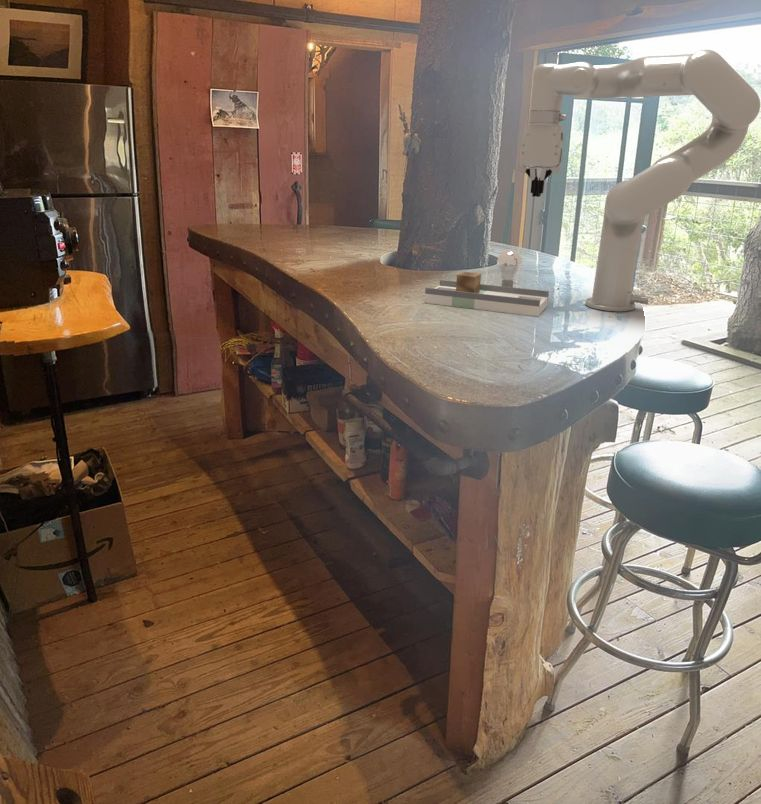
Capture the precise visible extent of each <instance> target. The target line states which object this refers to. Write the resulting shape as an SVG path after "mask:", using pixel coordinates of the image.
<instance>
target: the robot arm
mask: <svg viewBox="0 0 761 804" xmlns="http://www.w3.org/2000/svg"><path fill="white" fill-rule="evenodd" d="M564 95H565V96H571V97H573V98H575V99H581V100H585V99H588V100H589V99H609V98H610V99H611V98H651V97H668V96H669V97H673V96H676V97H677V96H695V98H696V99H697V100H698V101H699V102H700V103H701V105H702V106H704V108H705V109H707V111H709V112H710V113H711V117H712V119H711V122H710V125H709V127H707V129H706V130H705V131H704V132H703V133H702V134H700V135H698V136H697V137H695V138H694V139H692V140H691V141H689V142H688V143H686V144H685V145H682V147H679V148H678V149H676V150H675V151H673V152H671V153H669V154H668V155H665V156H663V157H661V158H659V159H657V160H656V161H655V162H654V163H653V164H652V165H650V166H649V167H647V168H645V169H644V170H642V171H641V172H639V173H637V174H635V175H634V176H632V177H630V178H629V179H627V180H623V181H620V182H618V183H616V184H615V185H614V186H612V187H611V189H610V190H609V191H608V193H607V195H606V198H605V203H604V210H603V211H604V213H603V214H604V215H603V221H602V227H601V233H600V241H599V249H598V255H597V260H596V269H595V273H594V274H595V276H594V282H593V289H592V296H590V297H588V298H586V299H585V302H584V304H585V305H586V307H589V308H591V309H595V310H599V311H606V312H607V311H608V312H629V311H630V312H631V311H633V310H634V309H636V304H643V305H648V303H649V299H650V298H649V296H645V295H642V294H635V293H634V289H633V282H634V277H635V271H636V265H637V260H638V259H637V258H638V253H639V248H640V241H641V236H642V235H641V234H642V229H643V222H644V218H645V217H647V216H648V215H651V214H653V213H655V212H656V211H657V210H660V209H661V208H662V207H665V206H666V205H668V204H670V203H672V202H673V201H675V200H677V199H678V198H680V197H681V196H682V195H683V194H684V193H686V192H687V191H688V190H689V188H690V186H691V185H692V183H694V182H695V181H697V180H698V179H700V178H702V177H703V176H705V175H707V174H708V173H710V172H711V171H713V170H715V169H716V168H717V167H720V166H722V164H724V163H726V162H727V161H728V160H729V159H730V158H731V157H733V156H734V154H735V153H736V152H737V151H738V150H739V148H740V147H741V146H742V144H743V142H744V141H745V139H746V136H747V134H748V131H749V126H750V124H752V123H753V122H754V121H755V120H756V119H757V117H758V115H759V113H760V110H761V99H760V96H759V94H758V93H757V92H756V90H755V89H754V88H753V87H752V86H751V85H750V84H749V83H748V82H747V81H746V80H745V79H744V78H743V77H742V76H741V75H740V74H739V73H738V71H736V70H735V69H734V67H732V65H730V63H728V61H726V59H725V58H724V57H723V56H722V55H721V54H720V53H718V52H717V51H714V50H712V49H704V50H702V49H701V50H699V51H697V52H695V53H689V54H688V53H685V54H675V55H674V54H672V55H671V54H670V55H651V56H648V55H647V56H643V57H639V58H636V59H633V60H630V61H626V62H622V63H615V64H614V63H613V64H600V65H593V64H591V63H589V62H587V61H576V62H571V63H563V64H560V63H554V62H553V63H550V62H549V63H541V64H538V65H535V68H534V70H533V76H532V87H531V96H530V97H531V98H530V107H529V108H530V110H529V118H528V125H527V124H526V125H525V128H524V132H523V135H522V141H521V146H520V152H519V162H518V163H519V164H518V165H519V166H518V168H517V170H518V172H520V173H525V174H527V175H526V176H528V177H529V179H530V180H531V184H530V194H532V195H531V197H537V198H541V196H542V194H543V193H544V187H545V181H546V180H547V179H548V178H549V177H550V176H551V175H553V174H557V173H560V172H561V168H562V167H561V165H562V160H563V146H564V130H563V129H564V127H563V125H560V124H561V123H562V122H563V121H566V120H567V114H563V113H562V106H563V105H562V104H563V96H564ZM538 168H541V170H540V174H539V177H538Z"/></svg>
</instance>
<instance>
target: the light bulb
mask: <svg viewBox="0 0 761 804" xmlns="http://www.w3.org/2000/svg"><path fill="white" fill-rule="evenodd" d="M522 263H523V258H522V256H521V254H520V253H519V251H517V250H516V249H512V248H508V249H505V250H503V251H501V252H500V254H499V255H498V257H497V261H496V264H497V265H496V266H497V268H498V270H499V272H500V278H501V285H500V286H503V287H513V288H514V281H515V278H516V275H517V273H518V272H519V271H520V269H521V267H522Z"/></svg>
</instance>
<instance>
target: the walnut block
mask: <svg viewBox="0 0 761 804" xmlns="http://www.w3.org/2000/svg"><path fill="white" fill-rule="evenodd" d="M481 278H482V273H478V272H467V271H462V272H459V273H458V274H457V275H456V291H461V292H470V293H479V292H480V284H481V281H482V279H481Z"/></svg>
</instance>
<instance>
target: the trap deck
mask: <svg viewBox="0 0 761 804" xmlns="http://www.w3.org/2000/svg"><path fill="white" fill-rule="evenodd" d="M456 281H457V280H456ZM456 281H454V280H443V279H440V280H439V285H438V286H436V287H433V288H432V287H425V291H424V303H425V304H430V305H440V306H448V307H457V308H465V309H472V310H474V309H475V310H479V311H480V310H481V311H490V312H497V313H498V312H499V313H506V314H515V315H523V316H528V317H529V316H530V317H539V316H540V315H541V314H542V312H544V311H545V309H546V308H547V307H548V302H549V295H550V294H549V293H550V291H548V290H539V289H529V288H520V287H514V286H513V287H503V286H501V285H493V284H482V283H480V292H479V293H470V292H461V291H456Z"/></svg>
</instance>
